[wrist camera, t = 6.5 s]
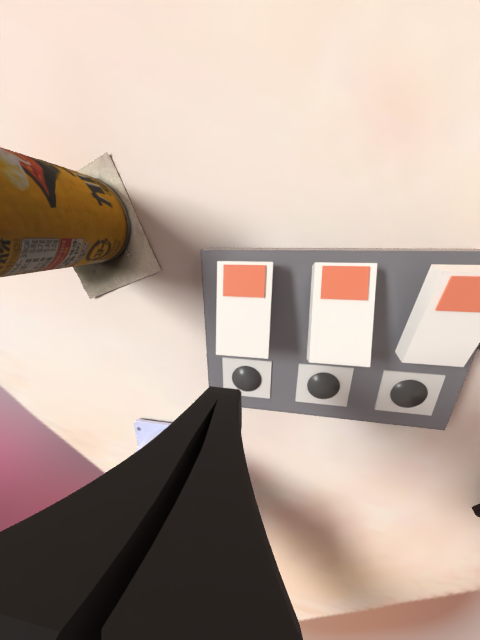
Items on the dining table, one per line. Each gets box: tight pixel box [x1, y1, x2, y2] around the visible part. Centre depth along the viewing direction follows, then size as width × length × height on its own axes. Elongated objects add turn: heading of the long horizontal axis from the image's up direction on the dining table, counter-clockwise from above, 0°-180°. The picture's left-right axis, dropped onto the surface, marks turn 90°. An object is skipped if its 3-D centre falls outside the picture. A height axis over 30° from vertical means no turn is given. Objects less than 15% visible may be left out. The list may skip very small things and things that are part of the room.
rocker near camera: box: [395, 264, 480, 367], centre depth 12 cm, size 6×3×1 cm, turn 0°
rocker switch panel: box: [201, 248, 480, 430], centre depth 16 cm, size 12×26×3 cm, turn 90°
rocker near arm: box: [216, 261, 273, 359], centre depth 14 cm, size 6×3×1 cm, turn 0°
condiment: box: [0, 148, 161, 299], centre depth 12 cm, size 7×8×12 cm
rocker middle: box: [307, 262, 377, 367], centre depth 13 cm, size 6×3×1 cm, turn 0°
